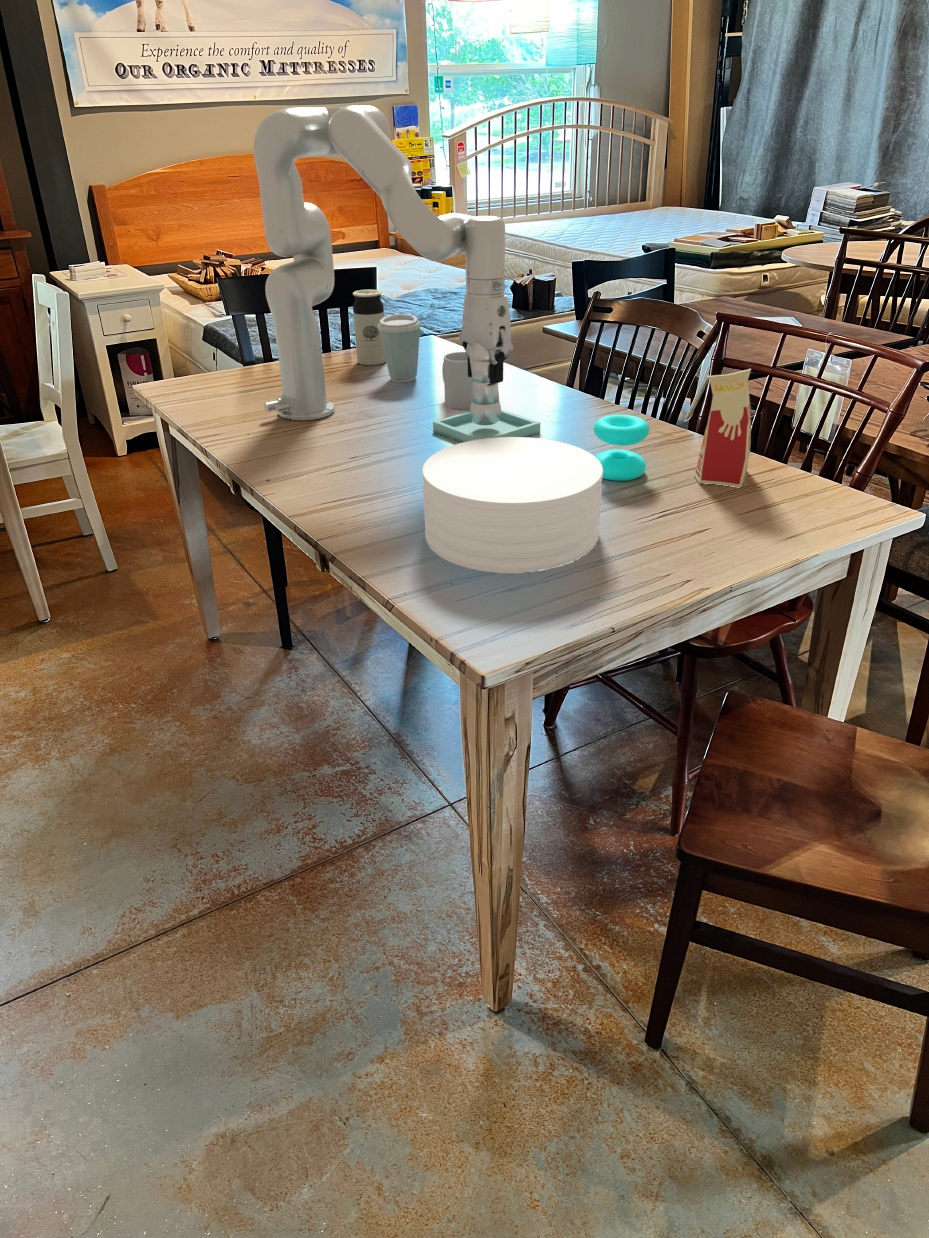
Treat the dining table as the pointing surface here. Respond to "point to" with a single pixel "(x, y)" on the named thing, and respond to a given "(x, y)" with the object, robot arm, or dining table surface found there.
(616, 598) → the dining table surface
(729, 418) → the milk carton
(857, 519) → the dining table surface
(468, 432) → the tray
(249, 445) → the dining table surface
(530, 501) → the plate stack
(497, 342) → the robot arm
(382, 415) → the dining table surface
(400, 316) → the disposable coffee cup
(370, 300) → the travel mug
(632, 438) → the donuts
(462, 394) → the mug
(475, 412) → the plastic bottle
